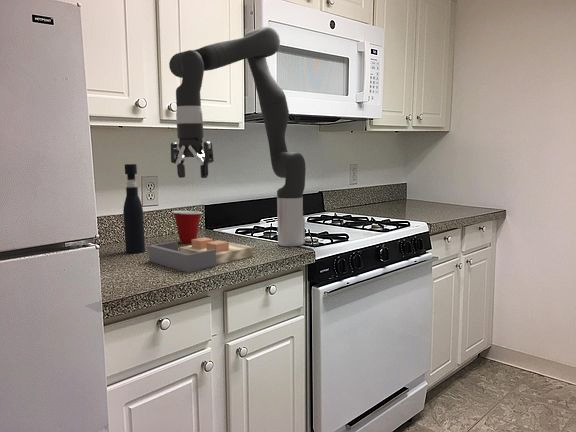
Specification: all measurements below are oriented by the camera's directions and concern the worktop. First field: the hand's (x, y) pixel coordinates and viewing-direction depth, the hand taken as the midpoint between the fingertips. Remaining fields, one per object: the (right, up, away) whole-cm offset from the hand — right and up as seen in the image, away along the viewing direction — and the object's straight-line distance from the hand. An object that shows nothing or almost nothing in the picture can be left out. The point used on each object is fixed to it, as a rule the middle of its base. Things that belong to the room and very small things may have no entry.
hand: (192, 177), depth 146 cm
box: (-4, -26, +5) cm, 27 cm away
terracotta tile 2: (+6, -22, +9) cm, 25 cm away
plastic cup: (-9, -22, +39) cm, 45 cm away
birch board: (+5, -25, +14) cm, 29 cm away
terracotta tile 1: (0, -22, +15) cm, 26 cm away
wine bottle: (-24, -24, +23) cm, 41 cm away
